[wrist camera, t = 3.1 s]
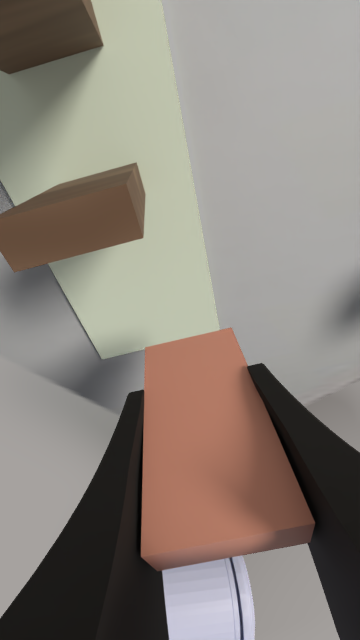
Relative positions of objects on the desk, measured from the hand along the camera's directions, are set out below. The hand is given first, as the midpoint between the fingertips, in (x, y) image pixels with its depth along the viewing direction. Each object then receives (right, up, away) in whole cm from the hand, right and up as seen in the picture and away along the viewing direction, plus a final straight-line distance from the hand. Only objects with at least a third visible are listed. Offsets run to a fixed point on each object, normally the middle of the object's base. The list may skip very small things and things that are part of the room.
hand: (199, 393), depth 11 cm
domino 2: (-5, +10, +3) cm, 12 cm away
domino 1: (0, +2, +2) cm, 3 cm away
